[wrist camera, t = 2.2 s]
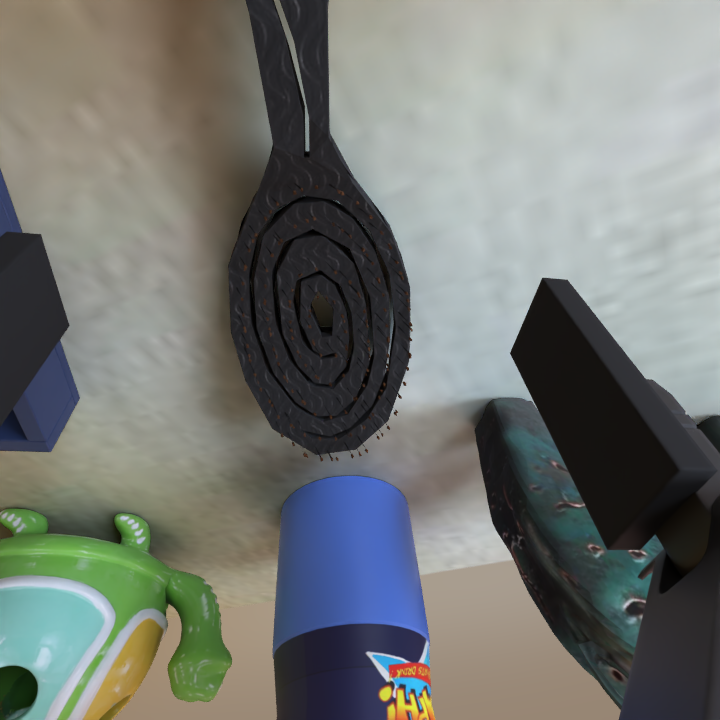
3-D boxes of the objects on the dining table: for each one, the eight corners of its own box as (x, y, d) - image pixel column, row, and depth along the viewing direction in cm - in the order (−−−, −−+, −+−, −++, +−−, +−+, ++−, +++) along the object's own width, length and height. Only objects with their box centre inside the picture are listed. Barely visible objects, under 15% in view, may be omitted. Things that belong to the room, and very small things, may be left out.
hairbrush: (472, -471, 8) (415, 462, 24) (434, -351, 11) (405, 410, 27) (-9, -466, 8) (248, 473, 23) (79, -345, 11) (257, 420, 26)
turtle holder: (235, 593, 41) (212, 774, 32) (-3, 582, 37) (-107, 787, 28) (253, 514, 33) (230, 725, 24) (-45, 490, 29) (-207, 731, 20)
